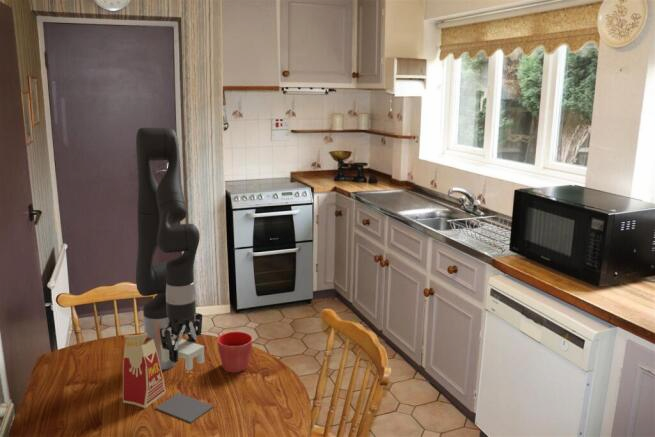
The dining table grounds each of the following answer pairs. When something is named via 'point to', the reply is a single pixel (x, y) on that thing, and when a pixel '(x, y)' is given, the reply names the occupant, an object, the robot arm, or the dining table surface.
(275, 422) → the dining table surface
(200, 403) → the mat
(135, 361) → the milk carton
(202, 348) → the stool
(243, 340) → the flower pot
